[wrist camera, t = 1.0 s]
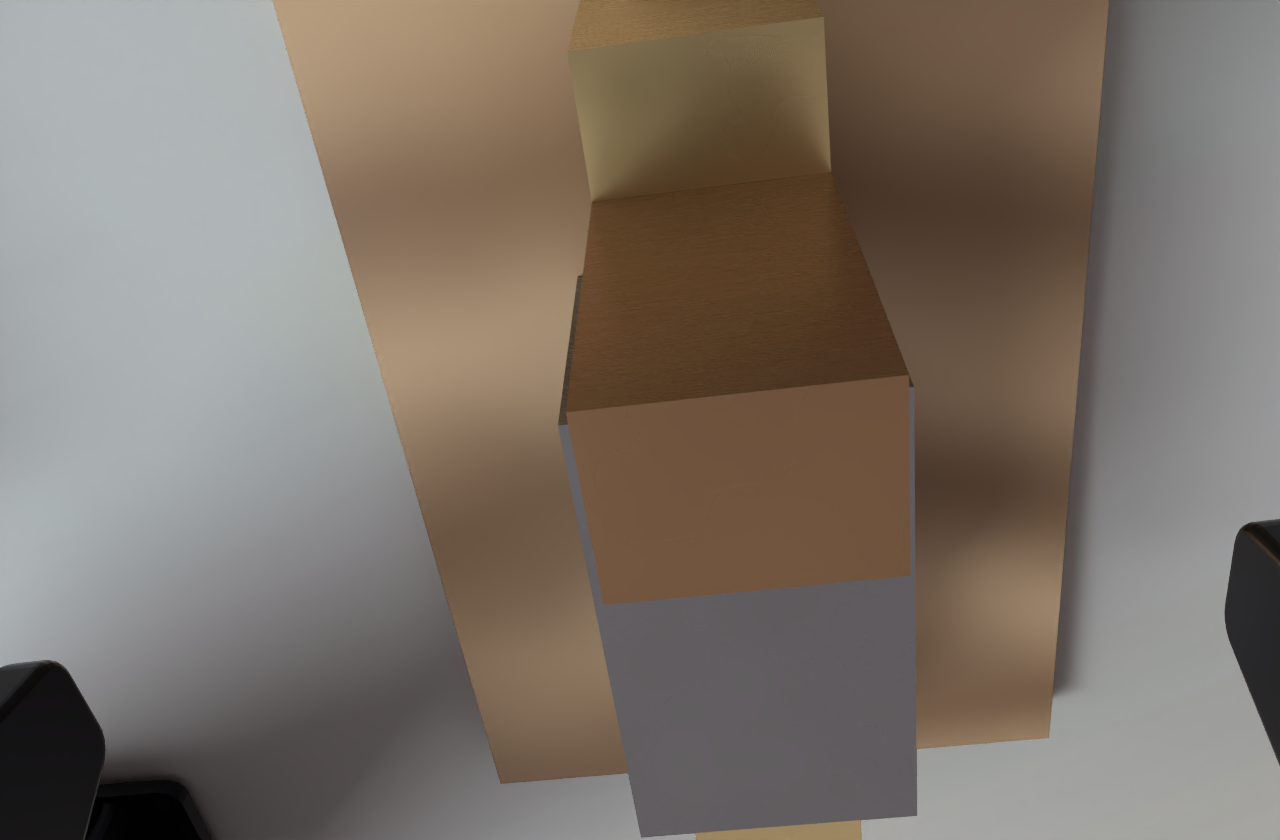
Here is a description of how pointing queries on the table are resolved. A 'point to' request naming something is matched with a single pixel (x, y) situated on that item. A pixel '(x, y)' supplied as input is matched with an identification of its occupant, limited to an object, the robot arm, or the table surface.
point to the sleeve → (762, 693)
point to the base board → (553, 259)
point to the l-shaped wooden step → (727, 320)
